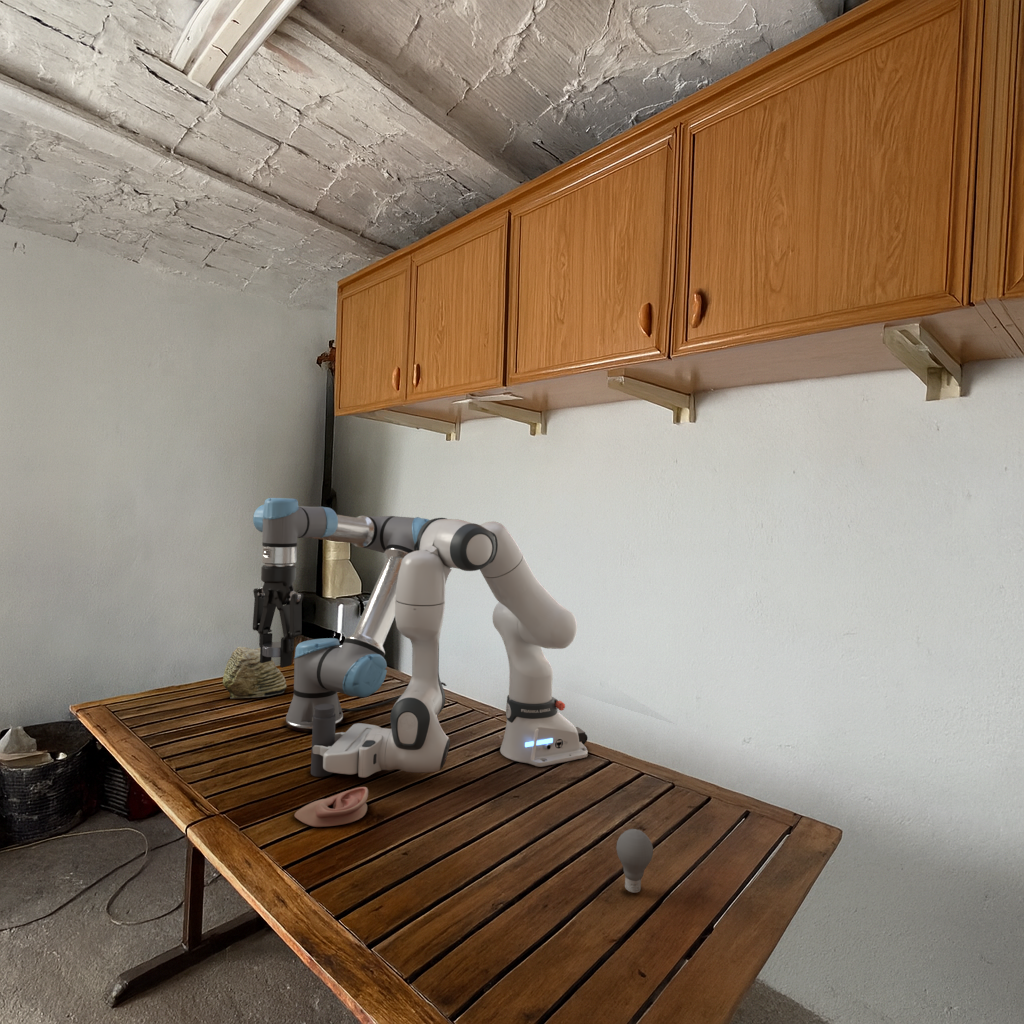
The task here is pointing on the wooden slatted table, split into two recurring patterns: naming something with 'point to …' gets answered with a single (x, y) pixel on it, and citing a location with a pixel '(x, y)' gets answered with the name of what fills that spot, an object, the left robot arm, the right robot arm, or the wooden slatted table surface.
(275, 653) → the lid
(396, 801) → the wooden slatted table surface
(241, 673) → the fossil
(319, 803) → the anatomical model
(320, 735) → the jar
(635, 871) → the light bulb
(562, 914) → the wooden slatted table surface
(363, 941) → the wooden slatted table surface
